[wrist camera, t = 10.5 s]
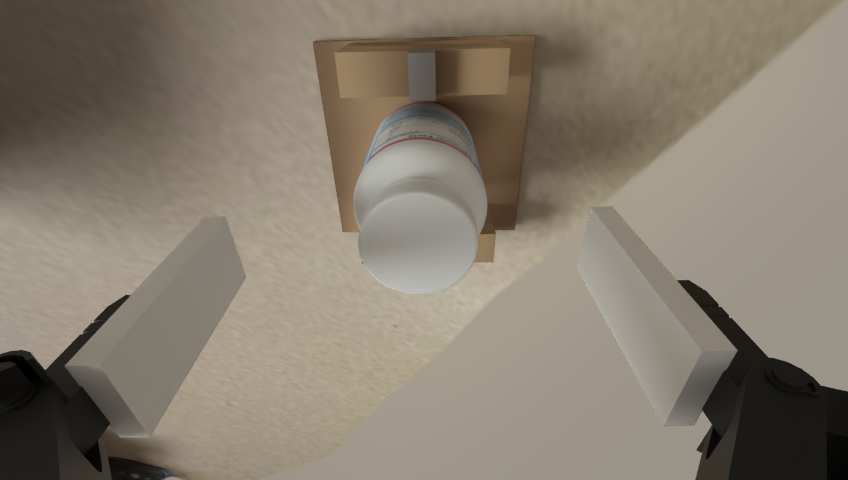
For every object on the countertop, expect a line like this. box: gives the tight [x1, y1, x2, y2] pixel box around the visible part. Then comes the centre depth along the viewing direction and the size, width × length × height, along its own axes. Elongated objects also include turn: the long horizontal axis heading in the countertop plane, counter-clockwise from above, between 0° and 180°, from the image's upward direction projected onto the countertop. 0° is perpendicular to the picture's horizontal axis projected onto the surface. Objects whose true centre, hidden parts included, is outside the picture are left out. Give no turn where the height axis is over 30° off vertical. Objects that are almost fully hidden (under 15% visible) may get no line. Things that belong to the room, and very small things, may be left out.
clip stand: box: [313, 35, 536, 264], centre depth 23 cm, size 12×12×6 cm
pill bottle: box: [353, 102, 487, 294], centre depth 20 cm, size 6×6×11 cm
